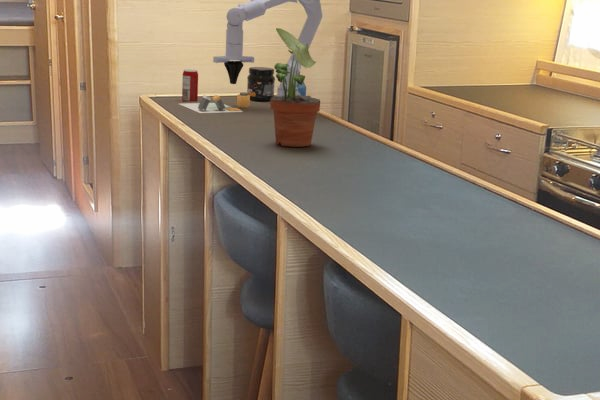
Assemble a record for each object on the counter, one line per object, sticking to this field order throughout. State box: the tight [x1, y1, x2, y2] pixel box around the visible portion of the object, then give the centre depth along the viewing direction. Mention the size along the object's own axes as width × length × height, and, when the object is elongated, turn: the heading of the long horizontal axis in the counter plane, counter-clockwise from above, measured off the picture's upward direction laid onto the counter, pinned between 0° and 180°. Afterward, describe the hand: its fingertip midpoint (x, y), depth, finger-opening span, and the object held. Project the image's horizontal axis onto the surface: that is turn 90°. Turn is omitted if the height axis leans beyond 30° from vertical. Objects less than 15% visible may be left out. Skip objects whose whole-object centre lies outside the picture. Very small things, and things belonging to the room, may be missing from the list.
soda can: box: [181, 69, 199, 103], centre depth 321 cm, size 6×6×12 cm
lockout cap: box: [236, 91, 251, 108], centre depth 313 cm, size 4×4×6 cm
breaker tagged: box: [211, 94, 225, 111], centre depth 301 cm, size 4×2×5 cm, turn 29°
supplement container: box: [246, 66, 276, 103], centre depth 338 cm, size 10×10×12 cm
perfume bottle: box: [297, 71, 307, 96], centre depth 335 cm, size 6×6×12 cm
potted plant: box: [269, 27, 321, 148], centre depth 251 cm, size 16×15×35 cm
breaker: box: [198, 94, 212, 111], centre depth 299 cm, size 4×2×5 cm, turn 28°
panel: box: [179, 102, 244, 114], centre depth 307 cm, size 20×16×2 cm
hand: (233, 83), depth 305 cm, fingers closed
